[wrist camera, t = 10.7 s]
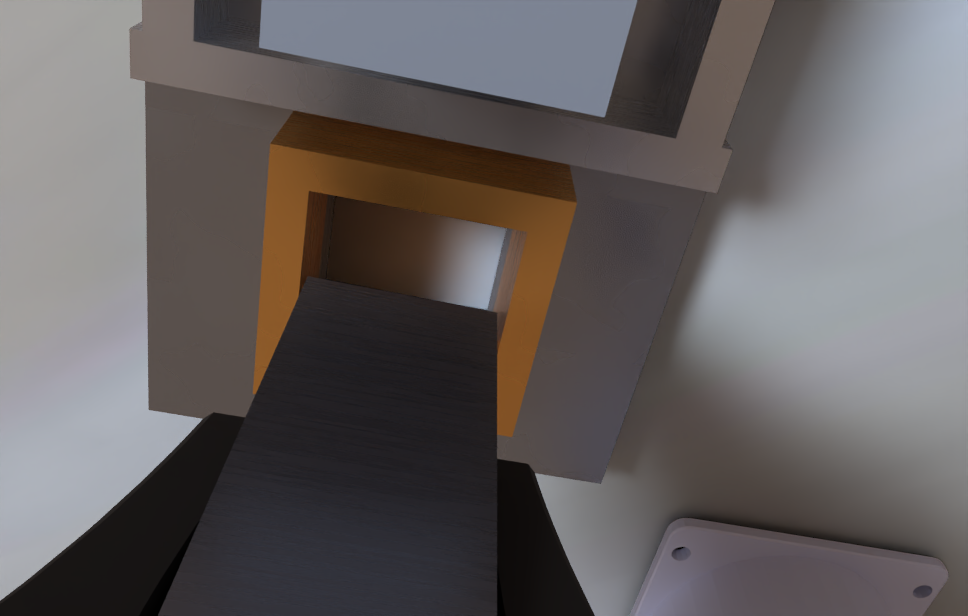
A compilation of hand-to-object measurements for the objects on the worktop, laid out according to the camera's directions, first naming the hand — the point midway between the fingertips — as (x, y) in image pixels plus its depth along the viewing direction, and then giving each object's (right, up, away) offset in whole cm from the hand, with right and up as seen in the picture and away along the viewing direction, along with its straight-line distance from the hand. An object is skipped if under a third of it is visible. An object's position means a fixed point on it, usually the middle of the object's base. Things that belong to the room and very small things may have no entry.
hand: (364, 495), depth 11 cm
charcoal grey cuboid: (0, +1, +2) cm, 2 cm away
